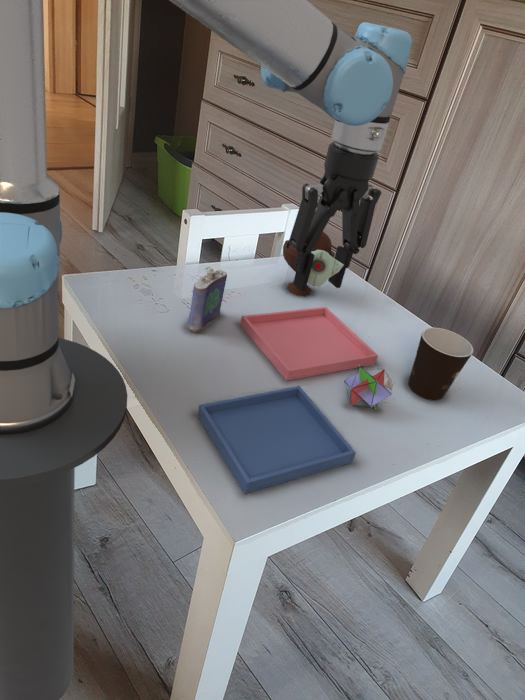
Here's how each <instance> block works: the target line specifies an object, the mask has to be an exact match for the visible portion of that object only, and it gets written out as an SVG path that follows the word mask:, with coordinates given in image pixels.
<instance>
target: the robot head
mask: <svg viewBox="0 0 525 700" xmlns="http://www.w3.org/2000/svg"><path fill="white" fill-rule="evenodd" d="M311 252H312V253H313V254H314V255H315V256H314V260H313V263H312V267H311V271H310V275H309V279H308V282H307V285H310V286H312V287H321V286H322V285H324V284H325V283H326V282H327V281H328V279H329V278H330V277H332V276H333V275H335V274H336V273H338V272H339V271H340V270H341V268H342V267H343V266H344V264H342V263H341V262H339V261H338V260H336V259H335V257H334V258H333V257H332V256H331V255H329V253H328V252H325V251H323V250H316V251H311Z"/></svg>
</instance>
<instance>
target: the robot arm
mask: <svg viewBox="0 0 525 700" xmlns="http://www.w3.org/2000/svg"><path fill="white" fill-rule="evenodd" d="M168 1H169V2H170V3H172V4H173V5H174V6H176V7H177V8H179V10H181V11H183V12H185V13H186V14H187V15H189V16H190V17H192V18H193V19H194V20H196V21H197V22H198V23H200V24H202V25H203V26H205V27H206V28H207V29H209V30H210V31H211V32H212V33H214V34H215V35H217V36H219V38H221V39H223V40H224V41H225V42H227V43H228V44H229V45H231V46H233V47H234V48H236V49H237V50H238V51H240V52H241V53H242V54H244V55H246V56H247V57H248V58H249V59H250V60H252V61H254V62H255V63H256V64H258V65H259V66H260V74H261V79H262V81H263V83H264V85H265V86H266V87H268V88H270V89H275V90H279V91H281V92H282V93H286V92H290V93H295V94H297V95H299V96H301V97H303V98H304V99H305V100H307V101H308V102H310V103H311V104H313V105H314V106H316V107H317V108H319V109H320V110H322V111H323V112H325V113H326V114H327V115H328V116H329V117H331V118H332V119H333V120H334V123H333V127H332V131H331V134H330V138H331V140H332V142H331V143H329V144H328V147H327V152H326V156H325V159H324V164H323V166H324V174H323V176H322V177H321V179H320V181H319V182H318V183H316V184H312V185H311V184H309V183H304V184H303V185H302V187H301V189H302V191H301V201H300V204H299V208H298V211H297V214H296V217H295V220H294V224H293V226H292V230H291V232H290V236H289V239H288V240H289V244H290V245H291V246H292V247H293V248H295V249H296V250H297V251H298V252H297V256H296V261H295V268H296V269H297V270H296V272H295V275H294V279H293V281H292V282H293V284H294V285H295V286H296V287H297V288H298V289H299V290H300V291H305V290H306V286H307V285H308V279H309V275H310V271H311V267H312V263H313V260H314V256H315V255H314V254H313V253H312V252H311V251H312V250H313V248H314V246H315V244H316V242H317V241H318V239H319V237H320V235H321V234H322V232H324V230H325V229H326V227H327V225H328V223H329V221H330V219H331V218H332V217H335V215H336V214H337V211H340V210H341V219H342V220H341V223H342V224H341V225H342V227H341V229H342V231H341V233H342V234H341V236H342V245H338V246H337V248H336V251H335V255H334V258H335V259H336V260H338V261H339V262H341V263H342V264H344V266H343V267H342V268H341V270H340V271H339V272H338V273H336V274H335V275H333V276H332V277H330V278H329V279H328V280H327V281H328V282H329V284H331V285H332V286H334V288H336V289H340V288H341V287H342V283H343V280H344V277H345V274H346V271H347V269H349V267H350V265H351V262H352V258H353V255H357V254H359V252H360V248H361V249H364V248H365V247H367V243H368V240H369V235H370V232H371V231H370V230H371V226H372V222H373V218H374V213H375V210H376V205H377V203H378V201H379V199H380V198H381V196H382V190H380V189H378V188H377V187H375V186H373V185H372V184H370V183H369V181H370V180H372V179H373V177H374V175H375V171H376V168H377V165H378V161H379V159H380V158H379V153H377V152H379V151H381V150H382V147H383V144H384V142H385V137H386V135H387V130H388V128H389V125H390V120H391V117H392V114H393V110H394V108H395V104H396V101H397V98H398V95H399V92H400V89H401V85H402V82H403V79H404V75H405V74H406V72H407V67H408V62H409V57H410V55H411V47H412V44H413V43H412V42H413V39H412V36H411V34H410V33H409V32H407V31H406V30H401V29H398V28H394V27H390V26H386V25H381V24H376V23H372V22H368V21H367V22H366V21H364V22H362V23H360V24H359V25H358V28H357V30H356V33H354V36H350V35H349V33H346V32H345V31H344V30H343V29H342V28H341V27H339V26H338V25H336V24H335V23H334V22H332V21H331V18H329V17H327V15H325V14H324V13H323V12H322V11H321V10H319V9H318V8H317V7H315V6H314V4H312V3H311V2H310V1H308V0H168ZM44 16H45V15H44V0H0V434H18V433H24V432H29V431H32V430H36V429H39V428H41V427H44V426H46V425H48V424H50V423H52V422H54V421H55V420H57V419H58V418H59V417H61V416H62V415H63V414H64V413H65V412H66V411H67V410H68V408H69V407H70V405H71V403H72V400H73V396H74V383H75V377H74V375H73V372H72V374H71V372H70V370H69V367H68V365H67V363H66V360H65V358H64V356H63V354H62V351H61V349H60V347H59V338H60V324H59V323H60V322H59V321H60V315H59V284H60V283H59V281H60V275H59V274H60V263H61V261H60V259H61V258H60V256H61V243H62V239H63V223H62V221H61V199H60V196H61V195H60V186H59V184H58V182H57V181H55V179H53V178H52V177H51V176H50V175H49V174H48V161H47V160H48V157H47V156H48V154H47V152H48V151H47V150H48V149H47V112H46V110H47V109H46V108H47V107H46V69H45V68H46V66H45V65H46V64H45V61H46V60H45V59H46V58H45V22H44V21H45V20H44V19H45V18H44Z"/></svg>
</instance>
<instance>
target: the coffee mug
mask: <svg viewBox="0 0 525 700" xmlns="http://www.w3.org/2000/svg"><path fill="white" fill-rule="evenodd" d="M473 354H474V347H473V345H472V344H471V343H470V341H468V339H466V338H465V337H463V336H462V335H461V334H459V333H456V332H454V331H451V330H449V329H446V328H441V327H427V328H424V329H423V330H422V332H421V335H420V339H419V341H418V346H417V350H416V354H415V357H414V360H413V364H412V367H411V372H410V375H409V379H408V382H407V384H408V385H407V386H408V388H409V389H410V390H411V392H413V393H414V394H415V395H416V396H418V397H419V398H422V399H425V400H428V401H440V400H442V399H443V398H444V397H445V396H446V394H447V392H448V391H449V389H450V388H451V386H452V385H453V383H454V382H455V380H457V378H458V376H459V375H460V373H461V371H462V370H463V369H464V367H465V365H466V364H467V363H468V361H469V359H470V358H471V356H472V355H473Z"/></svg>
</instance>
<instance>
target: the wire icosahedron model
mask: <svg viewBox="0 0 525 700" xmlns="http://www.w3.org/2000/svg"><path fill="white" fill-rule="evenodd" d="M365 367H366V368H367V366H364V368H363V367H361V366H360V365H359V367H358V368H357V371H356V373H355V374H353V375H352V376H349V377H347V378H346V379H344V380H343V382H344V384H345V388H346V390H348V389H347V386H348V387H349V389H350V396H349V395H348V400H349V401H350V407H353V406H354V405H355V404H356V403H358V402H360V401H361V400H363V402H365V403H366V404H367V406H365V405H363V408H368V409H369V408H371V409H374V410H376V409H377V408H378V404H379V403H380V402H381V403H380V405H381V404H382V403H384V400H386V399H388V398H389V397H391V396H393V386H394V385H393V381H392V378H391V377H390V375H389V373H388V371H386V368H383V369H381V367H380V368H379V367H378V370H380V371H378V372H376V373H375V374H373V375H372V374H371V373H370V372H369V371H367V369H366V368H365ZM371 369H374V367H373V366H371ZM385 375H386V377H385ZM346 394H349V392H348V391H347V393H346ZM356 407H360V405H356Z"/></svg>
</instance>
